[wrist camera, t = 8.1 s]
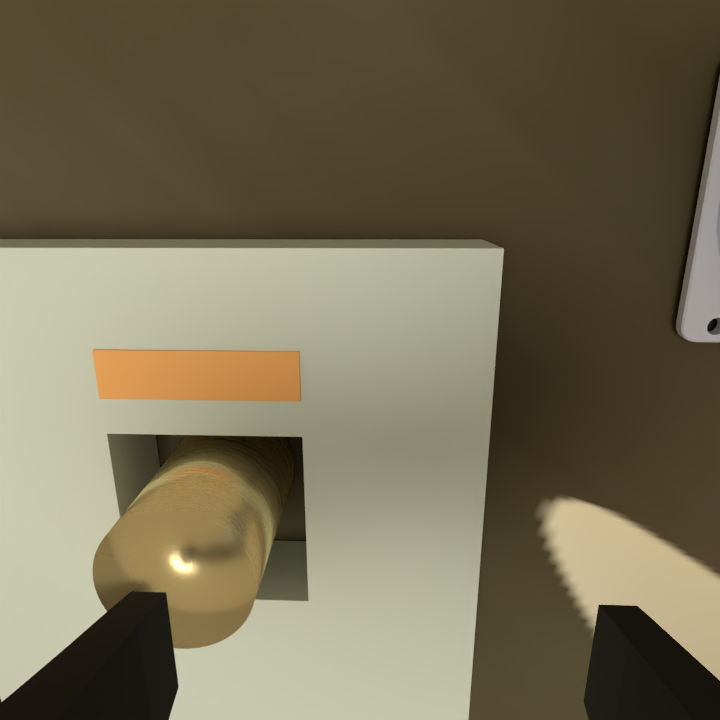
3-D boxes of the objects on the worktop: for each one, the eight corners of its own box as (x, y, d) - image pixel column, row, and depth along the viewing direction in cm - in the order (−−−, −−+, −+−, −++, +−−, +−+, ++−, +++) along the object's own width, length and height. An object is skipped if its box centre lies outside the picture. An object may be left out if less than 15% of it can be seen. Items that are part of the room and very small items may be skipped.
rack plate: (482, 239, 16) (504, 249, 13) (455, 659, 21) (468, 736, 18) (-31, 238, 17) (-121, 247, 14) (55, 645, 21) (2, 717, 18)
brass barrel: (295, 415, 18) (254, 517, 12) (293, 517, 19) (256, 654, 13) (178, 407, 18) (83, 506, 12) (184, 509, 19) (100, 643, 14)
